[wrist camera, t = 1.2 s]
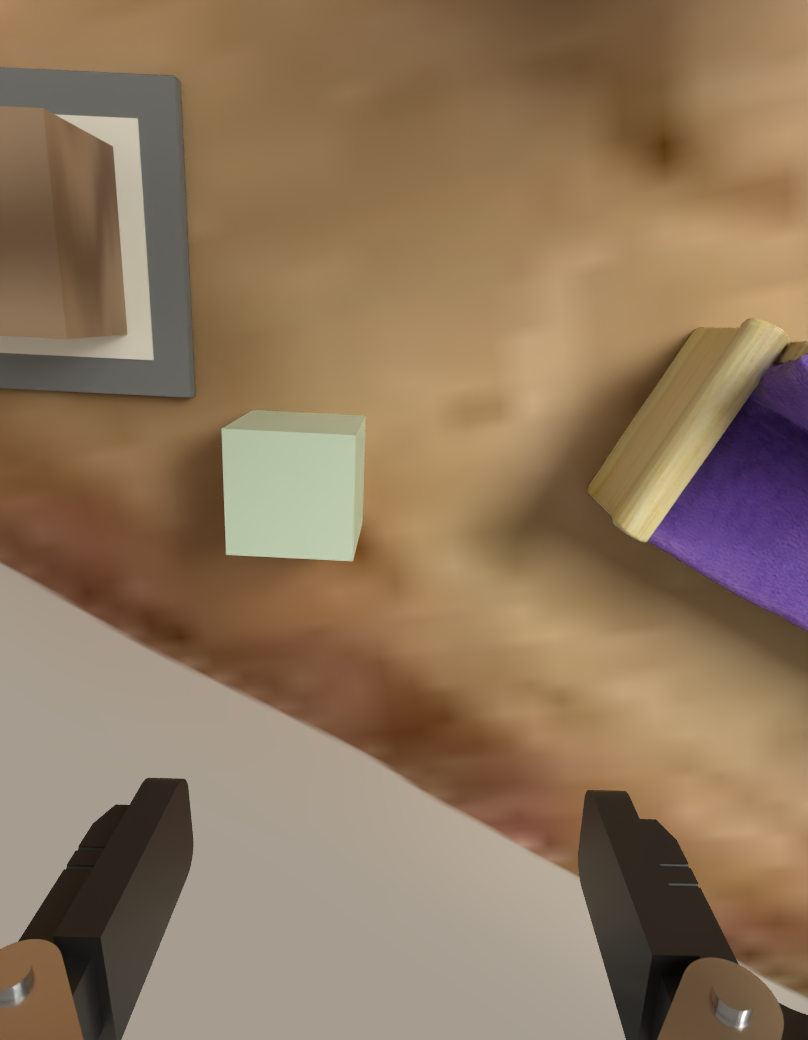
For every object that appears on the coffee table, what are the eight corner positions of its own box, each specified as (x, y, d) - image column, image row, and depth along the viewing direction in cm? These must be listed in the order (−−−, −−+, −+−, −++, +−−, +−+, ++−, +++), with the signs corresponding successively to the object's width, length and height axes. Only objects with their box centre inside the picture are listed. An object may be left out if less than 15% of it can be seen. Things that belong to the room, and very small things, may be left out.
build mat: (-131, 65, 25) (-146, 59, 25) (180, 81, 25) (173, 74, 25) (-77, 382, 29) (-89, 384, 28) (195, 395, 29) (190, 397, 28)
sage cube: (253, 409, 29) (221, 428, 24) (365, 415, 29) (356, 435, 24) (255, 517, 31) (226, 555, 26) (362, 522, 31) (352, 561, 26)
